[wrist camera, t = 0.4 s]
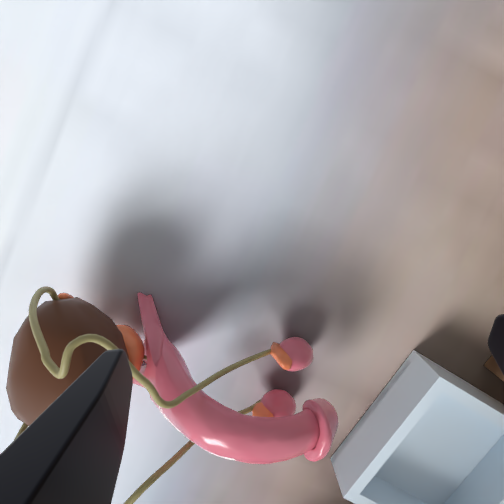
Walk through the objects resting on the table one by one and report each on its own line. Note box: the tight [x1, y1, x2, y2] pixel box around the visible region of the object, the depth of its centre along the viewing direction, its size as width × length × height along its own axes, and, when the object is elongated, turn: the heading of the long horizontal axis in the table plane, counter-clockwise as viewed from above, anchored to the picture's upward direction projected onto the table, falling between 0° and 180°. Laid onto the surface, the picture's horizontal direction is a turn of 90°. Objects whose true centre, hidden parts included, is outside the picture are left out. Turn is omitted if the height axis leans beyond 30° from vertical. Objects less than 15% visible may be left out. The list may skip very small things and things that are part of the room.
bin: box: [330, 350, 504, 504], centre depth 27 cm, size 11×11×4 cm
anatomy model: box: [6, 287, 338, 504], centre depth 21 cm, size 11×15×17 cm
